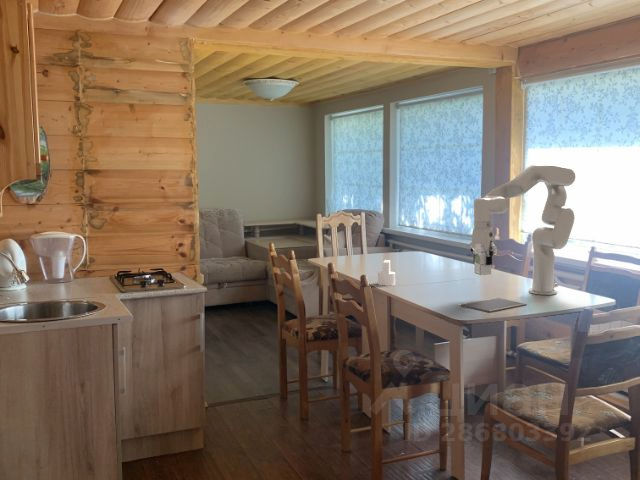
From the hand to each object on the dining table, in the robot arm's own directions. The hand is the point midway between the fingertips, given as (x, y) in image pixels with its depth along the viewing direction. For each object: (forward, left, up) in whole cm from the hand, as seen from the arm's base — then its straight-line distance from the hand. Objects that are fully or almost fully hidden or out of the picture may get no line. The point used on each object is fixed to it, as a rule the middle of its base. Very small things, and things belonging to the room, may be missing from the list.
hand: (482, 263), depth 293 cm
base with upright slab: (+13, -52, -17) cm, 56 cm away
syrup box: (0, 0, -5) cm, 5 cm away
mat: (+7, +13, -16) cm, 22 cm away
